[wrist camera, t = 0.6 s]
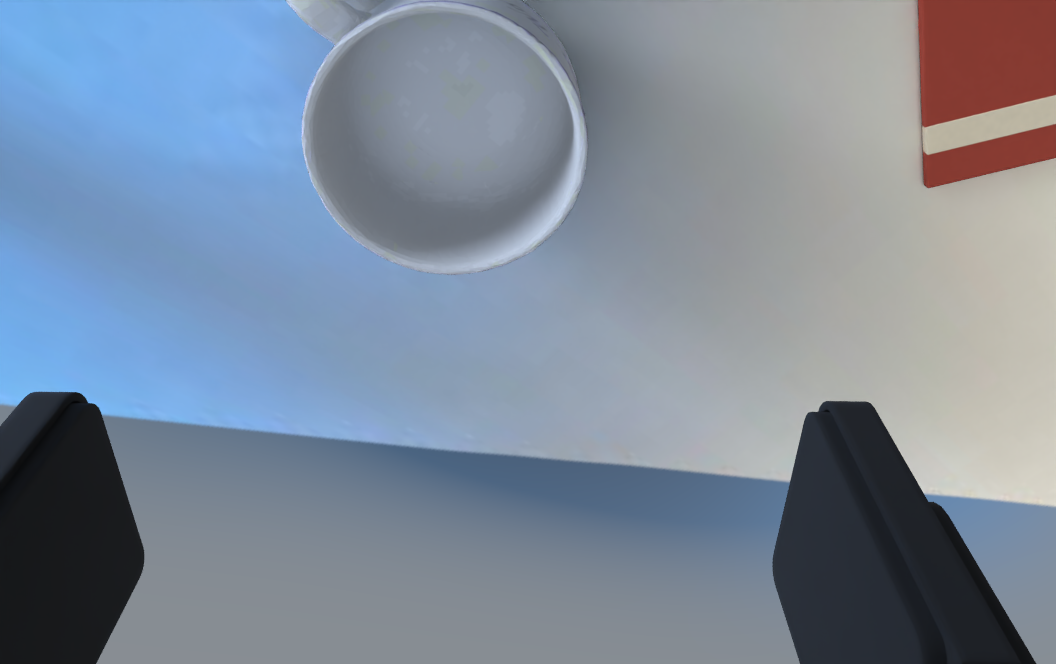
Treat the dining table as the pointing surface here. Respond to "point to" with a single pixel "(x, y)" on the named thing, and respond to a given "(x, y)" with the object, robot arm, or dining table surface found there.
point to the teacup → (443, 129)
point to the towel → (986, 86)
